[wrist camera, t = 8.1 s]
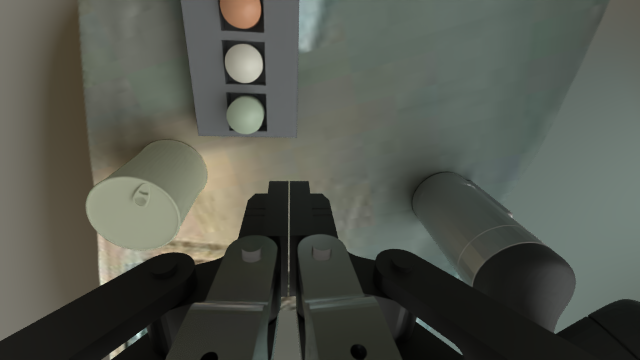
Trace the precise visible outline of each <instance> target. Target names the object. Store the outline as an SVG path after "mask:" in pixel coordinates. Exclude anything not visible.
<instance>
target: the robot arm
mask: <svg viewBox="0 0 640 360" xmlns="http://www.w3.org/2000/svg"><path fill="white" fill-rule="evenodd" d="M412 206H413V210H414V213H415V214H416V216H417V217H418V218H419V220H420V221H421V223H422V224H423V225H424V227H425V228H426V230H427V231H428V233H429V234H430V235H431V237H432V238H433V240H434V241H435V242H436V244H437V245H438V247H439V248H440V249H441V251H442V252H443V254H444V255H445V257H446V258H447V259H448V261H449V262H450V264H451V265H452V266H453V268H454V269H455V271H456V272H457V273H458V275H459V276H460V278H461V279H462V280H463V281H461V280H459V279H457V278H455V277H454V276H452V275H450V274H448V273H447V272H445V271H443V270H441V269H440V268H438V267H436V266H434V265H433V264H431V263H429V262H427V261H426V260H424V259H422V258H420V257H418V256H417V255H415V254H413V253H411V252H408V251H405V250H401V249H388V250H384V251H382V252H380V253H379V254H378V255H377V257H376V260H371V259H366V258H362V257H358V256H355V255H353V254H351V253H349V252H348V251H347V249H346V247H345V245H344V244H343V242H341V241H340V240H339V239H338V236H337V231H336V227H335V223H334V219H333V216H332V211H331V206H330V202H329V200H328V199H327V198H326V197H325V196H324V195H323V194H310V188H309V181H290V296H296V323H297V333H298V342H299V351H300V360H640V302H638V301H635V300H630V299H622V300H618V301H615V302H613V303H610V304H608V305H606V306H604V307H602V308H600V309H599V310H597V311H595V312H593V313H591V314H589V315H588V317H584V318H583V319H581V320H579V321H577V322H576V323H574V324H572V325H570V326H569V327H567V328H565V329H564V330H562V331H560V332H558V333H557V334H554V329H555V326H556V324H557V321H558V319H559V317H560V315H561V314H562V312H563V311H564V309H565V308H566V306H567V305H568V303H569V302H570V300H571V298H572V296H573V293H574V289H575V284H576V280H575V274H574V272H573V270H572V268H571V267H570V265H569V264H568V263H567V262H566V261H565V260H564V259H563V258H562V257H560V256H559V255H558V254H557V253H555V252H554V251H553V250H552V249H551V248H549V247H548V246H547V245H545V244H544V243H543V242H542V241H541V240H539V239H538V238H537V237H536V236H534V235H533V234H532V233H531V232H529V231H528V230H527V229H525V228H524V227H523V226H522V225H521V224H519V223H518V222H517V221H516V220H514V219H513V218H512V217H513V216H512V213H511V212H510V211H509V210H508V209H506V208H505V207H504V206H503V205H501V204H500V203H499V202H498V201H496V200H495V199H494V198H492V197H491V196H490V195H489V194H487V193H486V192H485V191H484V190H482V189H481V188H480V187H478V186H477V185H476V184H475V183H473V182H472V181H466V180H465V179H464V178H462V177H461V176H459V175H458V174H455V173H451V172H444V173H438V174H436V175H433V176H431V177H429V178H428V179H426V180H425V181H424V182H422V183H421V184H420V186H419V187H418V188H417V190H416V192H415V193H414V196H413V201H412ZM287 291H288V181H270V182H269V188H268V194H254V195H253V196H252V197H251V198H250V199H249V200H248V202H247V206H246V210H245V214H244V218H243V221H242V225H241V229H240V233H239V237H238V239H237V240H235V241H234V242H232V243H231V244H230V245H229V246H228V248H227V250H226V252H225V255H224V256H223V257H221V258H219V259H216V260H213V261H210V262H206V263H201V264H197V265H195V263H194V260H193V259H192V258H191V257H190V256H189V255H187V254H184V253H178V252H173V253H165V254H161V255H158V256H155V257H153V258H151V259H149V260H147V261H145V262H143V263H141V264H140V265H138V266H136V267H134V268H132V269H131V270H129V271H127V272H125V273H123V274H121V275H120V276H118V277H116V278H114V279H112V280H111V281H109V282H107V283H105V284H103V285H101V286H100V287H98V288H96V289H94V290H92V291H91V292H89V293H87V294H85V295H83V296H81V297H80V298H78V299H76V300H74V301H72V302H71V303H69V304H67V305H65V306H63V307H61V308H60V309H58V310H56V311H54V312H52V313H51V314H49V315H47V316H45V317H43V318H41V319H40V320H38V321H36V322H35V323H32V324H31V325H29V326H27V327H25V328H23V329H21V330H20V331H18V332H16V333H14V334H12V335H11V336H9V337H7V338H5V339H3V340H2V341H0V360H101V359H103V358H104V357H106V356H107V355H108V354H110V353H111V352H112V351H114V350H115V349H117V348H118V347H119V346H121V345H122V344H123V343H125V342H126V341H128V340H129V339H130V338H132V337H133V336H135V335H136V334H137V333H139V332H140V331H141V330H143V329H144V328H147V331H148V333H146V334H145V335H144V336H142V337H141V338H140V339H138V340H137V341H136V342H134V343H133V344H132V345H130V346H129V347H128V348H126V349H125V350H123V351H122V352H121V353H119V354H118V355H117V356H115V357H114V358H113V359H111V360H273V358H274V350H275V343H276V335H277V326H278V313H279V311H280V306H281V297H286V296H287ZM417 317H418V318H419V319H421V320H422V321H423V322H425V323H426V324H427V325H429V326H430V327H432V328H433V329H434V330H436V331H437V332H439V333H440V334H441V335H443V336H444V337H446V338H447V339H449V340H450V341H451V342H453V343H454V344H455V345H456V346H457V347H458V348H459V349H460V351H461V352H462V354H463V355H461V354H459V353H458V352H457V351H455V350H454V349H453V348H451V347H450V346H449V345H447V344H446V343H444V342H443V341H442V340H440V339H439V338H437V337H436V336H435V335H433V334H432V333H431V332H429V331H428V330H427V329H425V328H424V327H423V326H421V325H420V324H418V323H417V322H416V318H417Z"/></svg>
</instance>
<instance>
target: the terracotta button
mask: <svg viewBox="0 0 640 360" xmlns="http://www.w3.org/2000/svg"><path fill="white" fill-rule="evenodd" d="M220 8H221V12H222V14H223V16H224V18H225V19H226V20H227V22H228V23H230V24H231V25H233V26H234V27H237V28H241V29H251V28H253V27H255V26H256V25H257V24H258V23H259V22H260V20H261V17H262V11H263V10H262V4H261V1H260V0H220Z"/></svg>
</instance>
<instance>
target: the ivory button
mask: <svg viewBox="0 0 640 360" xmlns="http://www.w3.org/2000/svg"><path fill="white" fill-rule="evenodd" d="M225 67H226V70H227V72H228V74H229V75H230V76H231V77H232V78H233V79H234V80H236V81H238V82H241V83H250V82H252V81H254V80H256V79H257V78H258V77H259V75H260V74H261V73H262V71H263V68H264V59H263V56H262V54H261V52H260V51H259V50H258V49H257V48H256V47H255V46H253V45H251V44H238V45H235V46H233V47H231V48H230V49H229V50H228V52H227V54H226V56H225Z"/></svg>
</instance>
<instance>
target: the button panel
mask: <svg viewBox="0 0 640 360" xmlns="http://www.w3.org/2000/svg"><path fill="white" fill-rule="evenodd" d="M260 1H261V4H262V10H263V11H262V17H261V20H260V22H259V23H258V24H257V25H256V26H255V27H253V28H251V29H241V28H237V27H234V26H233V25H231V24H230V23H228V22H227V20H226V19H225V18H224V16H223V14H222V12H221V8H220V0H181V6H182V13H183V21H184V28H185V36H186V43H187V51H188V58H189V66H190V74H191V81H192V89H193V96H194V104H195V111H196V119H197V126H198V134H199V136H242V137H294V138H297V101H298V39H299V0H260ZM238 44H251V45H253V46H255V47H256V48H257V49H258V50H259V51H260V52H261V54H262V56H263V59H264V68H263V71H262V73H261V74H260V75H259V77H258V78H257V79H256V80H254V81H252V82H250V83H241V82H238V81H236V80H234V79H233V78H232V77H231V76H230V75H229V74H228V72H227V70H226V67H225V56H226V54H227V52H228V50H229V49H230V48H231V47H233V46H235V45H238ZM241 95H252V96H255V97H256V98H258V99H259V100H260V101H261V103H262V104H263V106H264V111H265V114H264V118H263V121H262V124H261V126H260V128H259V129H258V130H257V131H256V132H254V133H251V134H241V133H238V132H236V131H235V130H233V129H232V128H231V126H230V125H229V123H228V121H227V115H226V114H227V110H228V107H229V106H230V105H231V103H232V102H233V101H234V100H235V99H236V98H237V97H239V96H241Z"/></svg>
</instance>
